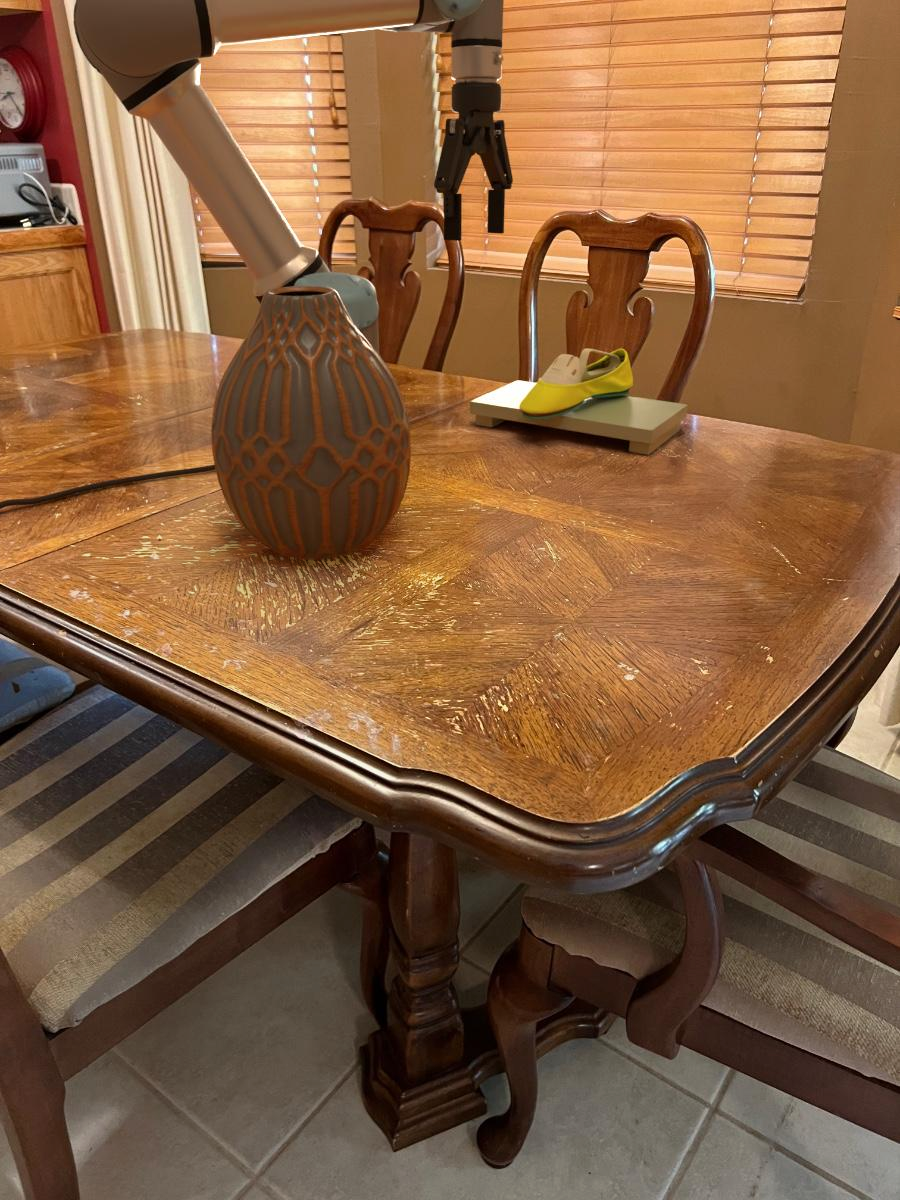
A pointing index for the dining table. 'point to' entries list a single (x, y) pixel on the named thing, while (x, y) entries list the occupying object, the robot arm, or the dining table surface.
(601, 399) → the low footed display riser
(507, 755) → the dining table surface
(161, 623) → the dining table surface
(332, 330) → the vase
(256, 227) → the robot arm
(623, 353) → the ballet flat
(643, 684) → the dining table surface
